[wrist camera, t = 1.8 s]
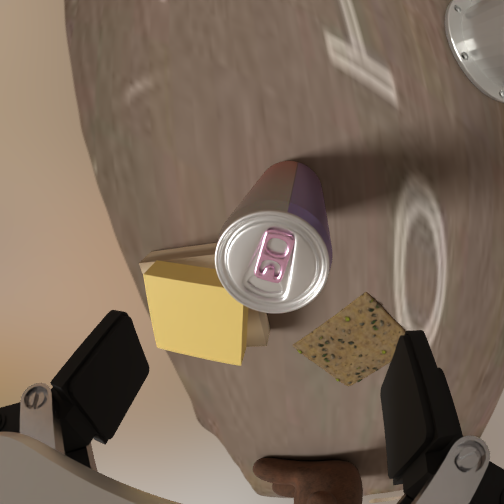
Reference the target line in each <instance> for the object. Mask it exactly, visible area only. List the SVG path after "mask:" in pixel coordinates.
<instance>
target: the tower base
mask: <svg viewBox="0 0 504 504" xmlns="http://www.w3.org/2000/svg"><path fill="white" fill-rule="evenodd" d="M216 246H217V243H210V244H203V245H195V246H188V247H181V248H173V249H166V250H159V251H152V252H150V253H149V254H148V255H147V256H146V257H145V258H144V259H143V260H142V261H141V262H140V263H139V265H140V268H141V270H142V273H143V274H144V273H145V272H146V271H147V270H148V269H149V268H150V267H151V266H152V265H153V264H154V262H155V261H156V260H159V261H165V262H172V263H178V264H185V265H192V266H198V267H205V268H212V269H216V268H215V250H216ZM269 333H270V326H269V321H268V317H267V313H264V312H260V311H256V310H253V309H251V308H248V323H247V342H246V347H250V346H267V343H268V338H269Z"/></svg>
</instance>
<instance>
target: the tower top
mask: <svg viewBox="0 0 504 504" xmlns="http://www.w3.org/2000/svg"><path fill="white" fill-rule="evenodd" d="M143 276H144V282H145V288H146V294H147V300H148V305H149V311H150V316H151V321H152V326H153V331H154V336H155V340H156V345H157V348H162V349H165V350H169V351H173V352H177V353H181V354H186V355H190V356H194V357H199V358H203V359H208V360H213V361H218V362H223V363H228V364H234V365H239V366H241V363H242V360H243V357H244V353H245V350H246V342H247V323H248V307H246V306H244V305H243V304H241V303H239V302H238V301H237V300H235V299H234V298H233V297H232V296H231V295H230V294H229V293H228V292H227V291H226V289H225V288H224V287H223V285H222V284H221V282H220V280H219V278H218V275H217V272H216V269H212V268H205V267H198V266H192V265H185V264H178V263H172V262H165V261H159V260H156V261H155V262H154V264H153V265H152V266H151V267H150V268H149V269H148V270H147V271H146V272H145V273H144V274H143Z"/></svg>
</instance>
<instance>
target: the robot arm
mask: <svg viewBox="0 0 504 504" xmlns="http://www.w3.org/2000/svg"><path fill="white" fill-rule="evenodd" d="M445 30H446V36H447V39H448V42H449V46H450V48H451V50H452V53H453V55H454V57H455V59H456V61H457V62H458V64H459V66H460V68H461V69H462V70H463V72H464V73H465V75H466V76H467V77H468V78H469V80H470V81H471V82H472V83H473V84H474V85H475V86H476V87H477V88H478V89H479V90H480V91H481V92H483V93H484V94H485V95H487V96H488V97H490V98H492V99H494V100H496V101H499V102H502V103H504V0H452V1H451V2H450V4H449V5H448V7H447V9H446V13H445ZM148 373H149V365H148V362H147V360H146V357H145V355H144V352H143V349H142V347H141V344H140V342H139V339H138V336H137V334H136V331H135V328H134V325H133V322H132V319H131V318H130V317H129V316H128V314H127V313H126V312H122V311H116V310H111V311H110V312H109V313H108V314H107V315H106V316H105V317H104V318H103V320H102V321H101V322H100V323H99V324H98V325H97V326H96V328H95V329H94V330H93V331H92V332H91V334H90V335H89V336H88V337H87V338H86V339H85V340H84V342H83V343H82V344H81V345H80V346H79V348H78V349H77V350H76V351H75V352H74V354H73V355H72V356H71V357H70V359H69V360H68V361H67V362H66V364H65V365H64V366H63V367H62V368H61V370H60V371H59V372H58V373H57V375H56V376H55V377H54V378H53V380H52V381H51V385H52V386H53V388H52V389H50V388H49V386H48V385H46V384H43V383H36V384H34V385H31V386H30V387H28V388H27V389H26V390H25V391H24V393H23V395H22V397H21V402H19V403H16V404H12V405H9V406H5V407H1V408H0V504H181V503H177V502H174V501H170V500H167V499H164V498H161V497H158V496H155V495H152V494H149V493H146V492H144V491H141V490H138V489H136V488H133V487H131V486H128V485H126V484H123V483H121V482H118V481H116V480H114V479H112V478H109V477H107V476H105V475H103V474H101V473H99V472H97V468H96V464H95V460H94V455H93V451H92V446H91V440H92V439H93V438H94V439H95V440H97V441H99V442H101V443H103V444H106V443H107V441H108V439H111V438H112V437H113V436H114V434H115V432H116V431H117V429H118V427H119V425H120V423H121V422H122V420H123V418H124V416H125V414H126V413H127V411H128V409H129V407H130V405H131V404H132V402H133V400H134V398H135V397H136V395H137V393H138V391H139V390H140V388H141V386H142V384H143V383H144V381H145V379H146V377H147V375H148ZM381 403H382V411H383V419H384V428H385V439H386V450H387V464H388V476H389V478H390V479H392V478H393V485H398V484H403V489H404V493H405V494H404V495H403V496H402V498H401V499H400V500H399V501H398V503H397V504H504V469H502V468H500V467H499V466H497V465H495V464H494V463H492V462H490V461H489V460H490V452H489V449H488V446H487V445H486V443H485V442H484V441H483V440H482V439H480V438H478V437H475V436H465V437H463V435H462V431H461V427H460V424H459V420H458V416H457V413H456V409H455V406H454V403H453V399H452V396H451V393H450V390H449V387H448V384H447V381H446V378H445V375H444V373H443V371H442V369H441V368H437V365H436V362H435V360H434V357H433V354H432V351H431V349H430V346H429V343H428V341H427V338H426V336H425V333H424V331H422V330H417V331H406V332H405V334H404V335H401V336H400V337H399V340H398V343H397V346H396V349H395V352H394V355H393V358H392V360H391V363H390V366H389V369H388V371H387V374H386V377H385V379H384V382H383V384H382V387H381Z"/></svg>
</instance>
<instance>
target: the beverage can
mask: <svg viewBox="0 0 504 504" xmlns="http://www.w3.org/2000/svg"><path fill="white" fill-rule="evenodd" d="M331 263H332V246H331V239H330V233H329V227H328V220H327V214H326V208H325V203H324V197H323V192H322V186H321V183H320V180H319V178H318V177H317V175H316V174H315V173H314V171H313V170H312V169H310V168H309V167H308V166H306V165H304V164H302V163H299V162H295V161H283V162H279V163H276V164H274V165H273V166H271V167H270V168H268V169H267V170H266V171H265V172H264V174H263V175H262V176H261V177H260V179H259V180H258V181H257V182H256V184H255V185H254V186H253V187H252V189H251V190H250V191H249V193H248V194H247V195H246V196H245V198H244V199H243V200H242V202H241V203H240V204H239V205H238V207H237V208H236V209H235V211H234V212H233V213H232V214H231V216H230V217H229V218H228V220H227V221H226V222H225V224H224V225H223V227H222V229H221V231H220V234H219V237H218V242H217V246H216V250H215V268H216V272H217V275H218V278H219V280H220V282H221V284H222V285H223V287H224V288H225V289H226V291H227V292H228V293H229V294H230V295H231V296H232V297H233V298H234V299H235V300H237V301H238V302H239V303H241V304H243V305H244V306H246V307H248V308H251V309H253V310H256V311H260V312H264V313H276V314H277V313H287V312H291V311H295V310H297V309H300V308H302V307H304V306H306V305H307V304H309V303H310V302H311V301H313V300H314V299H315V298H316V297H317V296H318V295H319V294H320V292H321V291H322V289H323V288H324V286H325V284H326V281H327V278H328V275H329V271H330V268H331Z"/></svg>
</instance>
